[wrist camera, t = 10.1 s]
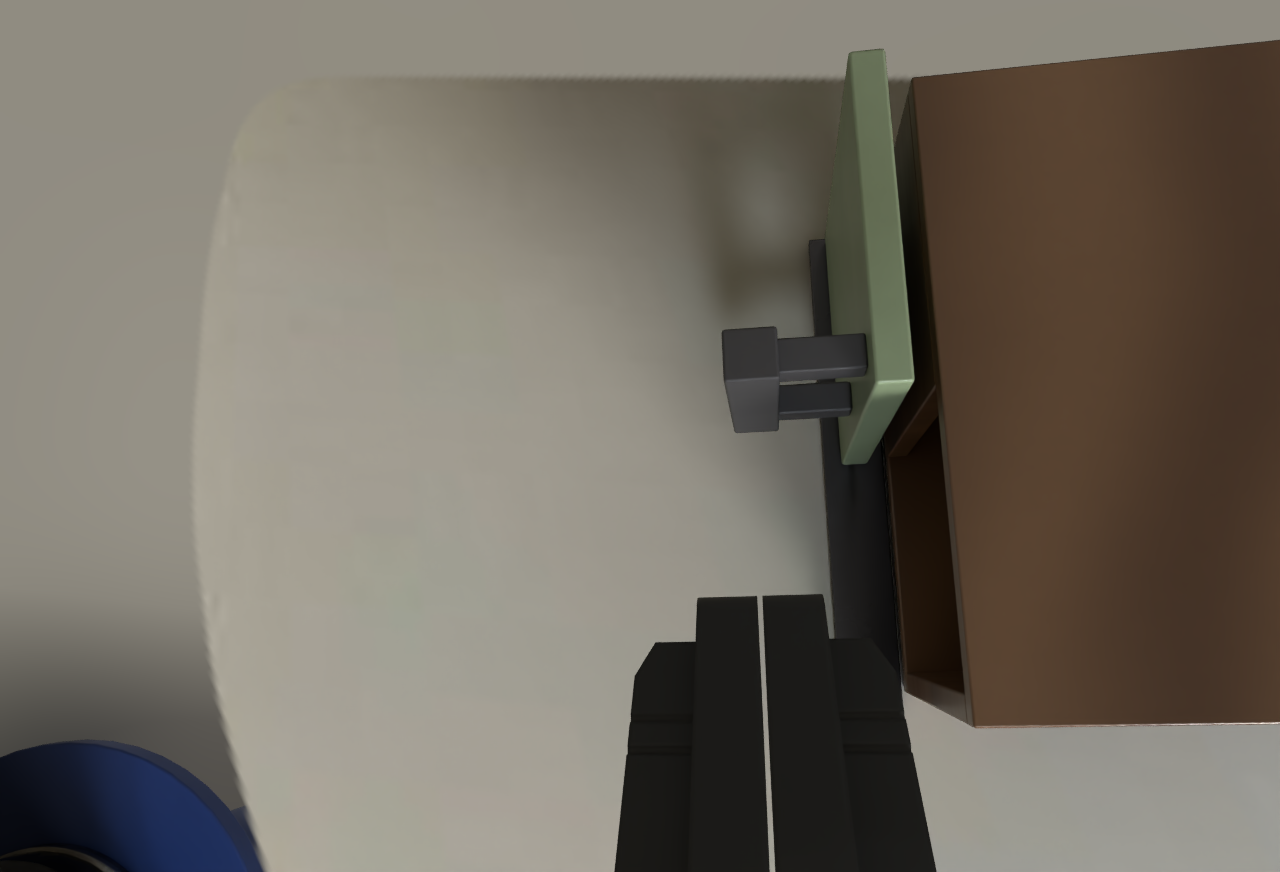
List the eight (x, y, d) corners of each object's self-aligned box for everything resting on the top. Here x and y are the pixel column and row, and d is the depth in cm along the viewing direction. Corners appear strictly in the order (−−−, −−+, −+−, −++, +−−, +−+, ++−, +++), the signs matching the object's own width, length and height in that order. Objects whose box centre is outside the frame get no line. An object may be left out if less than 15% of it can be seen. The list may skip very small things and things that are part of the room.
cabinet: (840, 707, 28) (874, 751, 18) (808, 243, 31) (823, 69, 21) (1307, 699, 26) (1619, 743, 17) (1225, 209, 29) (1449, 4, 20)
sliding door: (740, 470, 29) (723, 393, 19) (729, 242, 31) (707, 65, 21) (867, 464, 29) (915, 381, 19) (849, 232, 30) (885, 46, 20)
